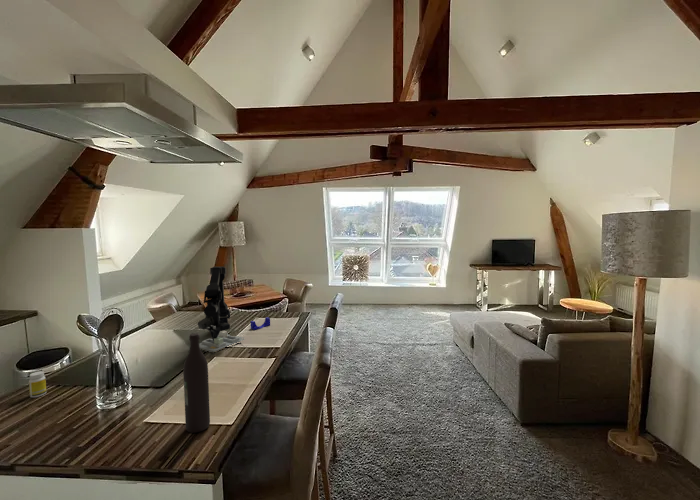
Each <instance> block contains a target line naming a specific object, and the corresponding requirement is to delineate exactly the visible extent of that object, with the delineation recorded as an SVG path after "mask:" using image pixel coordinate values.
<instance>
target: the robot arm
mask: <svg viewBox="0 0 700 500" xmlns="http://www.w3.org/2000/svg"><path fill="white" fill-rule="evenodd" d="M209 270H210V271H209V274H210V275H211V276H210V281H209V284H208V285H207V286H206V289H205V290H204V295H203V296H204V297H203V303H204V304H206V306H205V308H204V310H203V312H204V315H205V317H204V318H202V319H200V320H199V321H198V322H197V327H198V330H199V329H200V330H207V331H208V332H209V333H210V337H211V339H213V341H214V338H217V337H218V336H219V333H220V331H224V330H225V331H226V330H230V329H231V324H230V323H229V320H228V319H230V318H231V311H230V309H229V307H228V304H227V303H226V301H225V289H224V280H225V278H226V275H227V267H225V266H213V267H210V269H209Z"/></svg>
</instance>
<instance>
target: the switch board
mask: <svg viewBox="0 0 700 500" xmlns="http://www.w3.org/2000/svg"><path fill="white" fill-rule="evenodd" d="M227 336H228V338H224V337H221V338H223V343H222V344H219V345H218V344H214V341H213V339H212V338H207V339H204V340H202V341H201V342H199V346H200V349H204V350H206V351H205V352H207V351H209V352H208V353H210V352H215V351H218V350H220V349H222V348H225V347H227V346H229V345H232V344H234V343H237V342H241V341H245V339H244V338H245V337H242V336H237V335H236V336H234V335H230V333H229V334H228V333H227ZM218 337H220V336H219V335H218ZM242 338H243V339H242Z"/></svg>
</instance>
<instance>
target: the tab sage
mask: <svg viewBox="0 0 700 500" xmlns="http://www.w3.org/2000/svg"><path fill="white" fill-rule="evenodd" d="M222 343H223V338H221V337H217V338H214V344H218V345H219V344H222Z"/></svg>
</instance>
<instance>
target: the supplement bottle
mask: <svg viewBox="0 0 700 500" xmlns="http://www.w3.org/2000/svg"><path fill="white" fill-rule="evenodd" d="M46 379H47V378H46V376H45V371H44V370H39V371H36V372H32V373H30V374H29V380H28V389H29V390H28V391H29V398H39V397H41V396H44V395H45V394H47V391H48V390H47V381H46Z"/></svg>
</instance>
